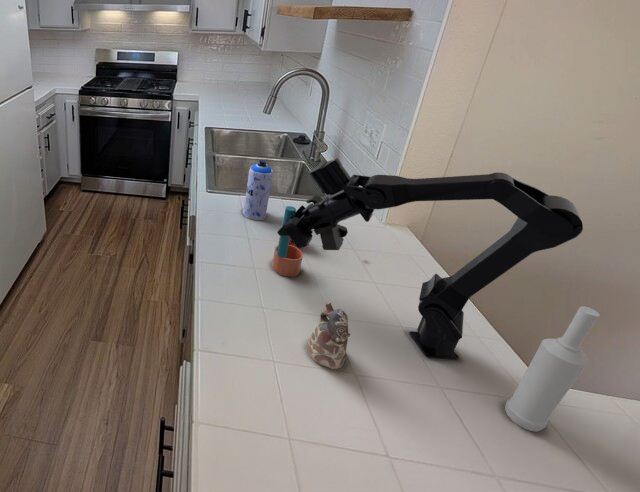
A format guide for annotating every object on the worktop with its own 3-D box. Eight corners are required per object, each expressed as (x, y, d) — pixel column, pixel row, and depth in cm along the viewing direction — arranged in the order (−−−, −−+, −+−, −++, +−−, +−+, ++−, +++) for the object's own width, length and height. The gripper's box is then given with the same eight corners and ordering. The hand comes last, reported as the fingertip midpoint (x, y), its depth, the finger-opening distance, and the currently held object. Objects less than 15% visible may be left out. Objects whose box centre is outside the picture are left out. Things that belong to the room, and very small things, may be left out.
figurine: (323, 372, 76) (336, 327, 72) (299, 344, 83) (310, 300, 78) (352, 364, 78) (367, 319, 74) (327, 337, 85) (339, 294, 80)
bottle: (502, 398, 72) (562, 294, 62) (541, 416, 69) (610, 309, 59) (504, 420, 68) (568, 312, 58) (545, 439, 65) (620, 329, 55)
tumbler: (302, 277, 103) (306, 260, 101) (275, 276, 103) (279, 259, 101) (294, 260, 109) (297, 244, 107) (268, 259, 110) (271, 243, 108)
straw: (286, 258, 99) (296, 211, 94) (277, 257, 100) (286, 210, 94) (285, 252, 101) (295, 206, 96) (276, 251, 102) (285, 205, 96)
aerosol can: (238, 209, 136) (246, 157, 128) (259, 207, 137) (267, 156, 129) (249, 221, 129) (257, 166, 121) (270, 219, 130) (280, 165, 122)
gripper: (346, 259, 80) (285, 277, 91) (367, 222, 93) (311, 242, 104) (314, 213, 82) (258, 237, 93) (339, 183, 94) (286, 207, 106)
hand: (280, 231), depth 99 cm, fingers closed on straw, 2 cm apart
